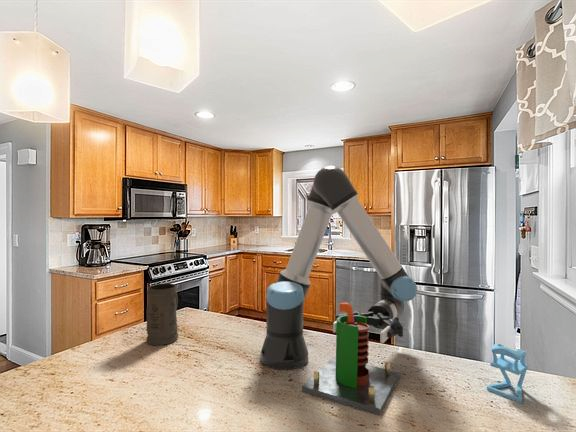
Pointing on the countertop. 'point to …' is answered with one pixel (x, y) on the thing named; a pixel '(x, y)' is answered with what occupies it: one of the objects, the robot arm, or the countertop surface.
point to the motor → (351, 348)
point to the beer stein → (162, 314)
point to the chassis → (361, 397)
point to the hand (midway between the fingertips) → (356, 332)
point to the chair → (508, 369)
